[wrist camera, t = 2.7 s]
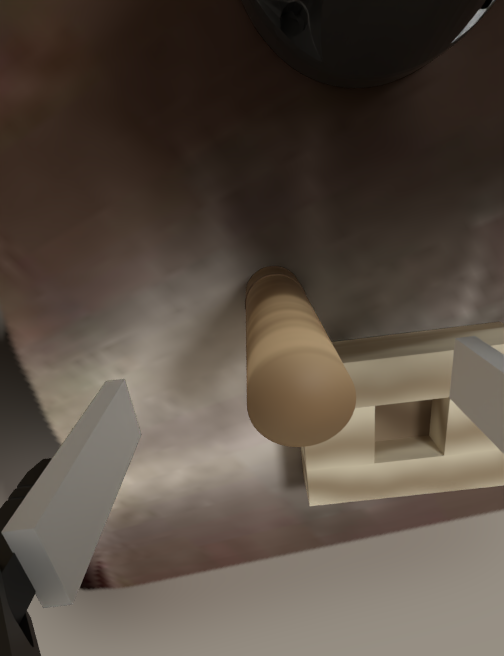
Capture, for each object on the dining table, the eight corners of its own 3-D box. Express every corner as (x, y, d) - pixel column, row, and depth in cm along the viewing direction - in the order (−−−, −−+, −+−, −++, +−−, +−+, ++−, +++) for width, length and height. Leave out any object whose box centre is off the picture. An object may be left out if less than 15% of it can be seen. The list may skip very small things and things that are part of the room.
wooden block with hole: (291, 346, 28) (297, 368, 24) (499, 321, 27) (534, 340, 24) (303, 473, 32) (309, 506, 29) (479, 454, 32) (505, 485, 29)
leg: (241, 269, 25) (238, 360, 12) (299, 261, 25) (357, 346, 12) (248, 322, 27) (253, 453, 14) (303, 315, 27) (358, 441, 14)
